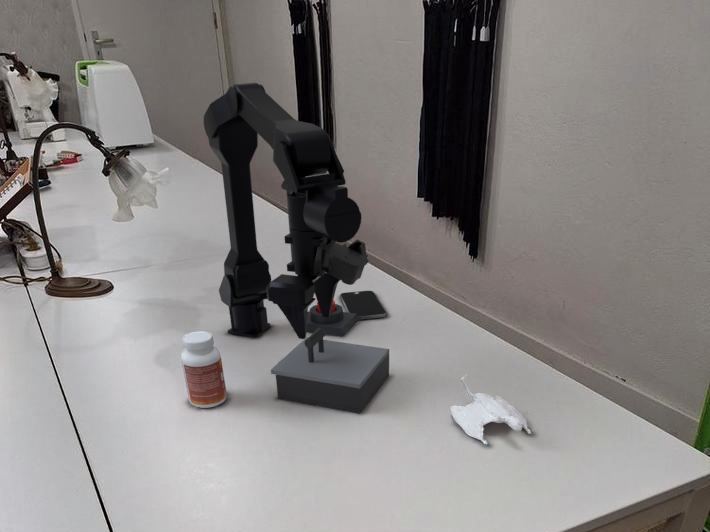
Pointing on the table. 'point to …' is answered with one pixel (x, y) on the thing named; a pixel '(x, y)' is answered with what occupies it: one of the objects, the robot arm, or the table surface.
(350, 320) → the switch block
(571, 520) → the table surface
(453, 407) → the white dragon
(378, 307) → the smartphone
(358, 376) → the box lid with handle
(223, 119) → the robot arm
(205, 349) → the pill bottle
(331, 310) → the power button
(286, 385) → the open square tray
